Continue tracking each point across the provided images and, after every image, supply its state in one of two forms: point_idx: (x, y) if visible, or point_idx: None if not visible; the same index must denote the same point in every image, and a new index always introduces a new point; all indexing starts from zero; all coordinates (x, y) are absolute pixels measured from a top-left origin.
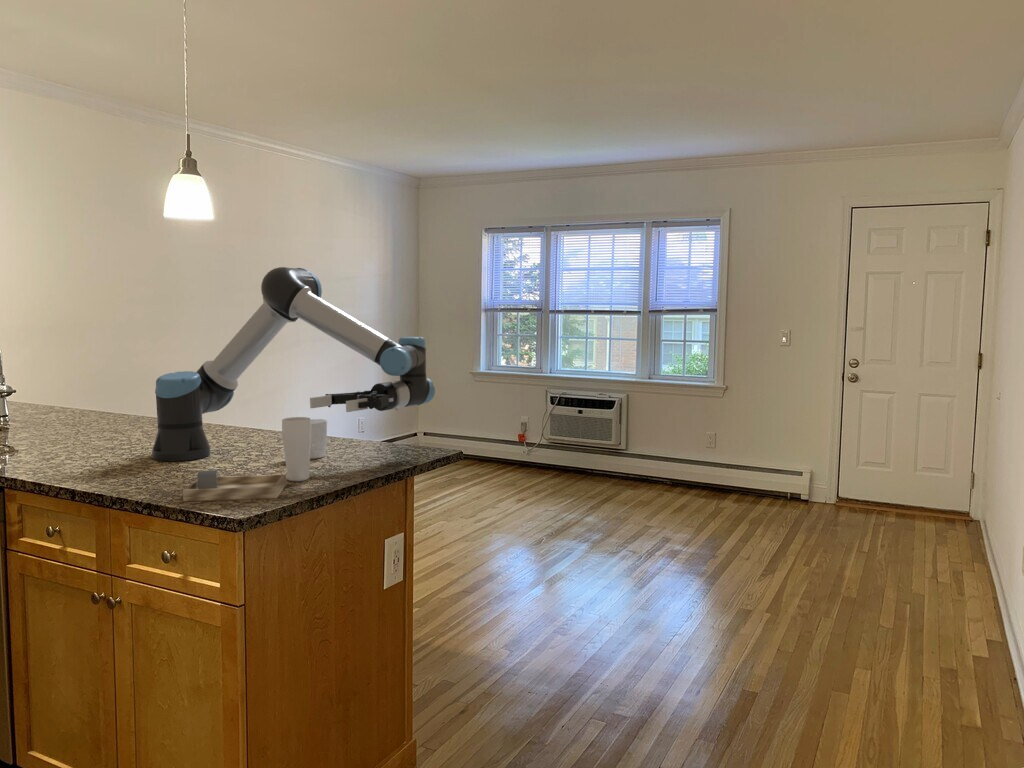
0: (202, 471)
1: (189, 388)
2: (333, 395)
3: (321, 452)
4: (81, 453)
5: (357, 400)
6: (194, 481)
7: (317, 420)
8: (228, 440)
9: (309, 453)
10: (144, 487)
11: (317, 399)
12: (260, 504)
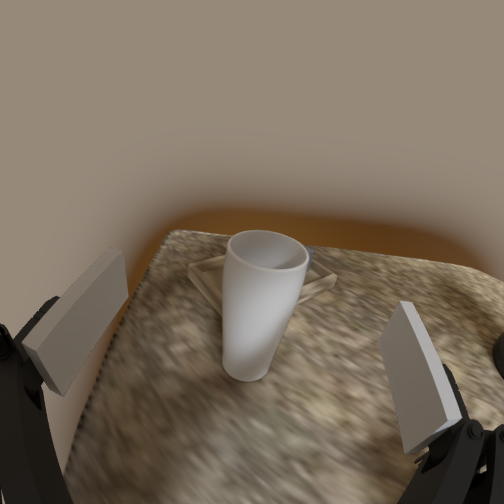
0: (310, 251)
1: None
2: (457, 445)
3: None
4: None
5: (72, 287)
6: (317, 262)
7: None
8: None
9: (224, 332)
10: (376, 272)
11: (406, 337)
12: (188, 257)
